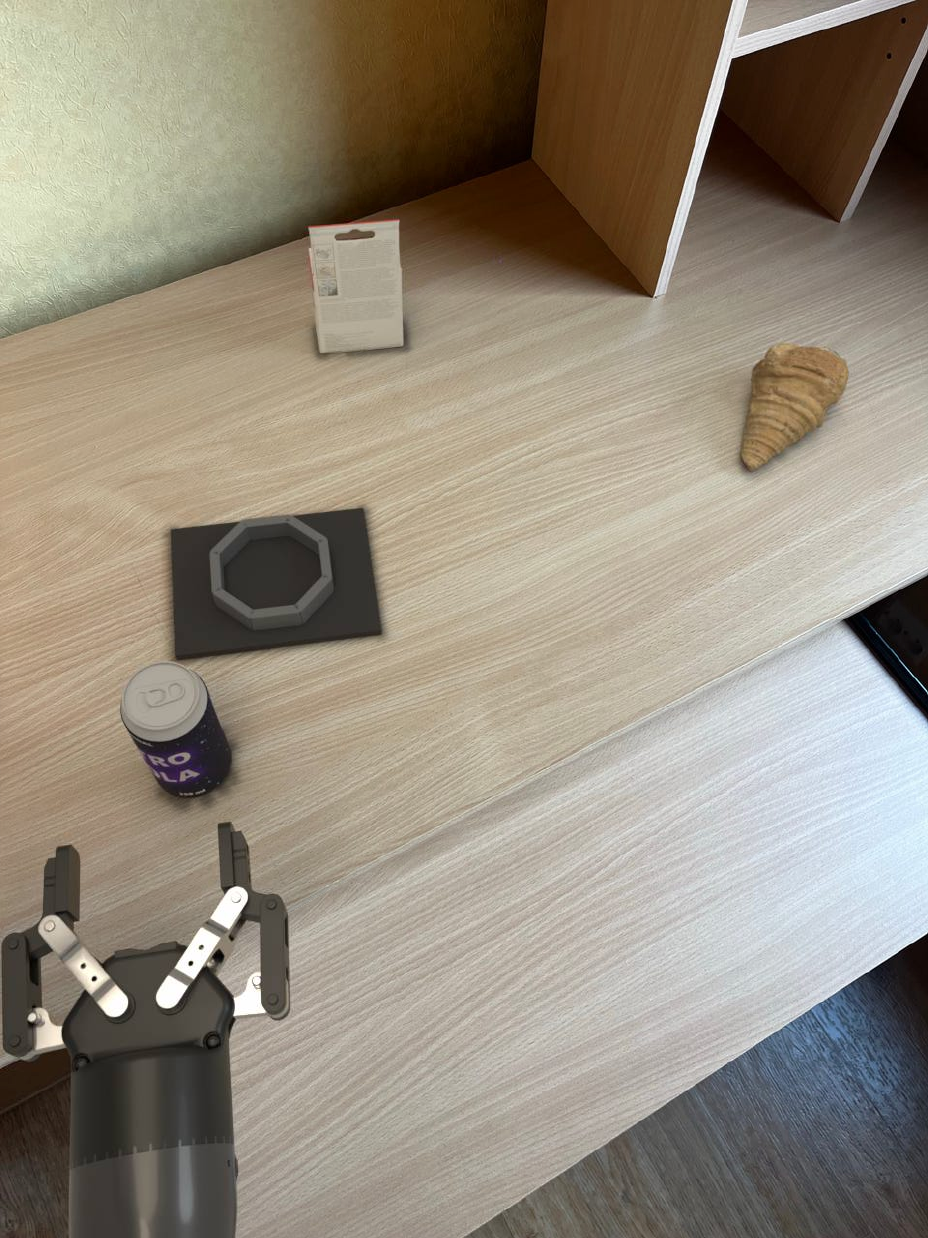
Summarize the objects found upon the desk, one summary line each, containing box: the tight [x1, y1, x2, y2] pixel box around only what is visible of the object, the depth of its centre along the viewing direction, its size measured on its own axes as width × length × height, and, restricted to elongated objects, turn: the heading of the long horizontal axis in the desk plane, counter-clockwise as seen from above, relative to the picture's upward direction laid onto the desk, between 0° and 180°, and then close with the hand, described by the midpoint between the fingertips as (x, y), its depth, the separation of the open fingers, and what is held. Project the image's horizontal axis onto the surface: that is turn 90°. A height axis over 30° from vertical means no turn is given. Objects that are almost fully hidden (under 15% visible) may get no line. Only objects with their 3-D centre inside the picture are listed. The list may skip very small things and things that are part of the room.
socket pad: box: [170, 507, 382, 661], centre depth 85 cm, size 16×12×3 cm
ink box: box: [307, 219, 405, 355], centre depth 94 cm, size 4×8×15 cm, turn 99°
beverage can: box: [119, 660, 233, 799], centre depth 73 cm, size 6×6×12 cm
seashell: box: [739, 342, 850, 472], centre depth 94 cm, size 14×8×8 cm
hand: (147, 838), depth 58 cm, fingers open, 8 cm apart
